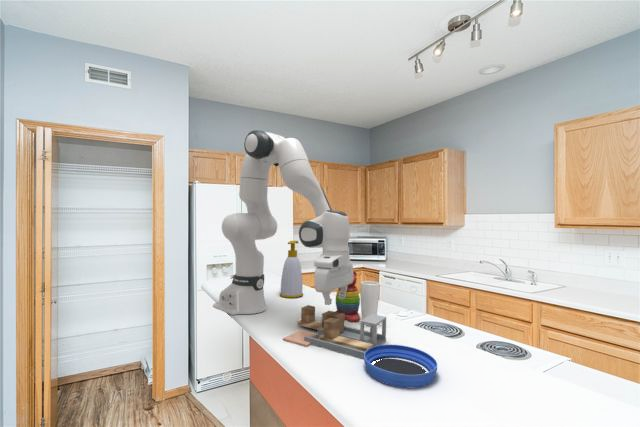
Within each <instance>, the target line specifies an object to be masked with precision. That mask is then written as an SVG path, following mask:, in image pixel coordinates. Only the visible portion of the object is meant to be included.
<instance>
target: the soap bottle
mask: <svg viewBox="0 0 640 427" xmlns="http://www.w3.org/2000/svg"><path fill="white" fill-rule="evenodd" d="M296 244H299V241H298V240H290V241H288V242H287V245H290V249H289V250H287V251H288V252H287V257H286V258H285V260H284V264H283V267H282V271H281V272H282V273H281V274H282V275H281V280H280V292H279V296H281V297H283V298H285V297H286V299H297V298H296V297H298V298H301V297H303V295H304V292H303V274H302V266H301V261H300V259H299V257H298V250H296V249H295V247H296ZM300 296H301V297H300Z"/></svg>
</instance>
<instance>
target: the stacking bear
mask: <svg viewBox="0 0 640 427" xmlns="http://www.w3.org/2000/svg"><path fill="white" fill-rule="evenodd" d="M357 279H358V278H357V272H356V271H353V283H351V284H349V285H347V291H346V293H345V298H344V299H339V293H340V290H341V288H337V289H336V295H335V307H336V311H334V312H338V313H343V314H345V320H346V322H349V323H353V322H354V323H358V322H359V321H361V319H360V318H361V316H360V314H359V309H360V306H361V296H360V292H359V290H358V287H357V286H356V284H357Z"/></svg>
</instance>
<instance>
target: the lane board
mask: <svg viewBox="0 0 640 427" xmlns="http://www.w3.org/2000/svg"><path fill="white" fill-rule="evenodd" d="M359 321H360V322H359V324H360V325H359V328H355V327H350V326H345V325H344V332H342V333H340V334H339V336H342V337H346V338H350V339H354V340H358V341H362V342H366V343H370V344H374V346H378V345H384V343H386V341H387V316H384V315H378V314H377V315H374V314H371V315H369V316H368V317H366V318H364V319H363V320H362V319H360V320H359ZM365 324H368V325H370V326H369V330H365V326H366V325H365ZM380 324H382V326H381V333H378V325H380ZM315 334H316V335H317V336H316V335H314V336H316V337H313V336H312V338H311V337H308V336H305V337H304V341H307V342H311V345H312V346H315V347H318V348H322V349H327V350H330V351H333V352H337V353H340V354H344V355H346V356H350V355H351V356H350V357H354V358H357V359H362V360H364V353H365V351H361V350H357V349H353V348H349V347H346V346H342V345H338V344H334V343H330V342H327V341H323V340H319V337H318V335H320V336H321V335H323V334H324V330H321V329H318V330H317V333H315ZM315 338H317V339H315ZM311 345H310V346H311Z"/></svg>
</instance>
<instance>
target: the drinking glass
mask: <svg viewBox="0 0 640 427" xmlns="http://www.w3.org/2000/svg"><path fill="white" fill-rule="evenodd" d="M359 289H360V290H359V291H360V292H359V297H360V310H361V314H360V315H361V320H363V319H364V318H366V317H368V316H369V315H371V314H374V315H378V307H379V300H380V299H379V298H380V283H379V282H377V281H374V280H364V281H361V282H360V288H359ZM364 326H367V327H370V325H368V324H365V325H364Z"/></svg>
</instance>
